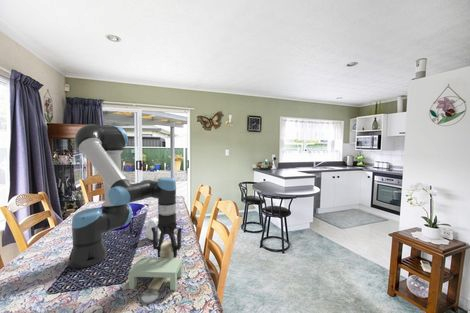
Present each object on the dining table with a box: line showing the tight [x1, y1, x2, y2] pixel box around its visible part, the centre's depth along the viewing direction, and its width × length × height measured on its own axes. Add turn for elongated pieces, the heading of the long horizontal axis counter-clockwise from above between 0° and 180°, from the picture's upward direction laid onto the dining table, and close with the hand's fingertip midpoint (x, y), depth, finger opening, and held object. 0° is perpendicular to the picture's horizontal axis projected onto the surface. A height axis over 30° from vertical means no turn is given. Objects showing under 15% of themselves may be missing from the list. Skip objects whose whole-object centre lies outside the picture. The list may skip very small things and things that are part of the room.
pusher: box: [147, 240, 173, 291], centre depth 91 cm, size 4×18×11 cm, turn 178°
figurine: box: [144, 217, 161, 241], centre depth 128 cm, size 10×10×12 cm
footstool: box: [128, 257, 183, 291], centre depth 88 cm, size 18×10×7 cm, turn 88°
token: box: [140, 289, 160, 304], centre depth 79 cm, size 6×6×2 cm
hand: (167, 263), depth 98 cm, fingers closed on pusher, 4 cm apart
